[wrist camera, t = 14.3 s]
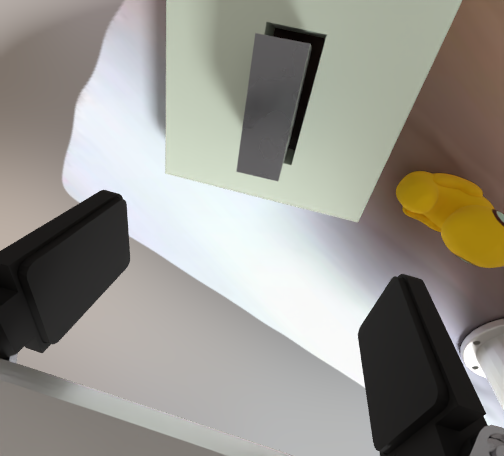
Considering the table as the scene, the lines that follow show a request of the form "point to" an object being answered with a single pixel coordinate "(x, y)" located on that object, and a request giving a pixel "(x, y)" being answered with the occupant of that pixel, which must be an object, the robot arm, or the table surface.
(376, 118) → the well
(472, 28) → the table surface
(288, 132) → the brushed metal pillar
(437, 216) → the duckling
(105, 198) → the robot arm
